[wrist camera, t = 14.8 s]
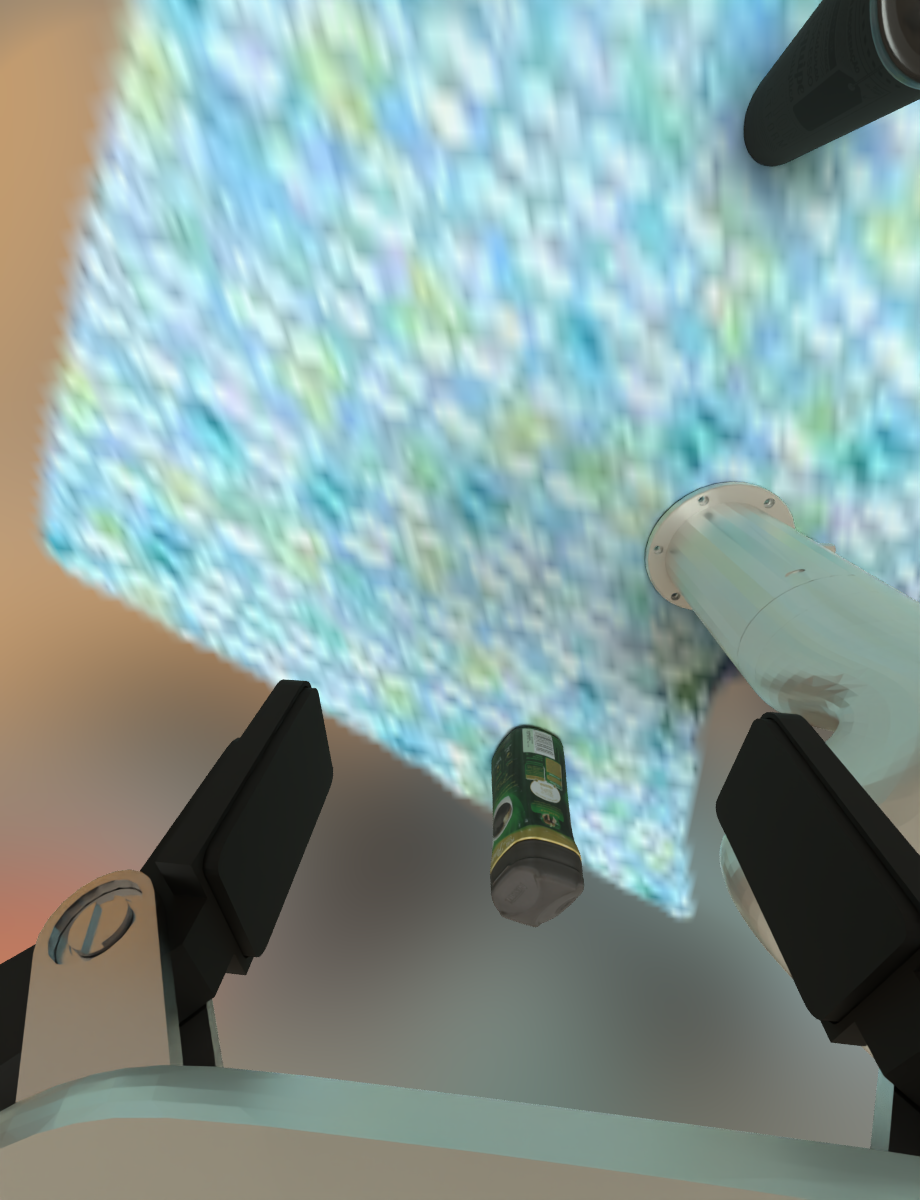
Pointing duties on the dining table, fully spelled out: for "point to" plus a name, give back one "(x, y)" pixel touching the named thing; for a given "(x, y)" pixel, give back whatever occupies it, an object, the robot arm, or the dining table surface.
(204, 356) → the dining table surface
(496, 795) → the coffee jar
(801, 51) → the drinking cup
